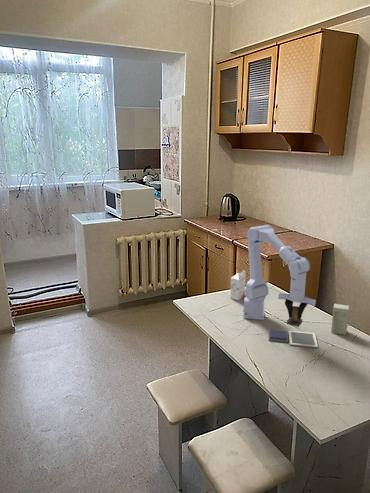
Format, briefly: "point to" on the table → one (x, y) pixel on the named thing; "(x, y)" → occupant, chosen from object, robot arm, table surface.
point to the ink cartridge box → (238, 286)
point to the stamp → (294, 317)
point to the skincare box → (340, 319)
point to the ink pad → (278, 336)
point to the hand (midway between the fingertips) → (295, 317)
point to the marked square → (302, 339)
